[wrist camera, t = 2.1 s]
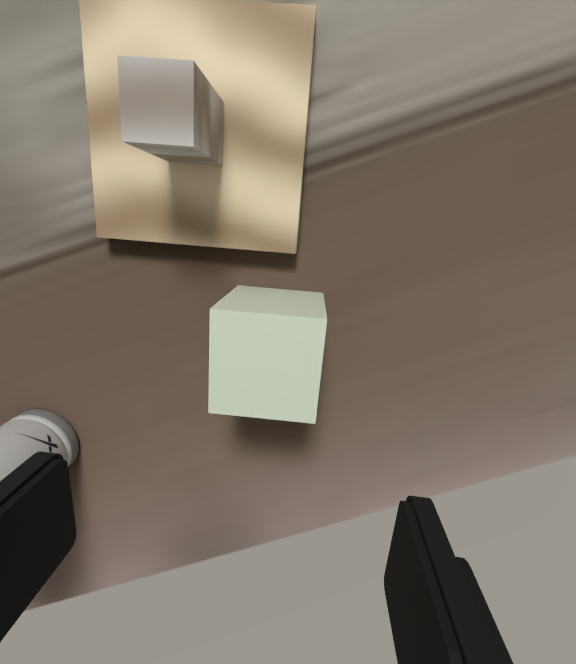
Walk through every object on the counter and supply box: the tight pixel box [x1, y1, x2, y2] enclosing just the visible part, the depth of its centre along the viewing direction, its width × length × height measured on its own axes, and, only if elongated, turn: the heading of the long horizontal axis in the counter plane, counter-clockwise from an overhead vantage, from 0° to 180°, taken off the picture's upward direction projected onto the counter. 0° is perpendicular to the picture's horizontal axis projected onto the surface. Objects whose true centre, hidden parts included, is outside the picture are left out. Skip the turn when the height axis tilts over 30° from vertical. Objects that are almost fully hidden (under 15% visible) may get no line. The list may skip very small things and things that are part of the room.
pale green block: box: [208, 285, 327, 424], centre depth 24 cm, size 6×6×8 cm
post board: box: [79, 0, 316, 254], centre depth 21 cm, size 14×14×8 cm
